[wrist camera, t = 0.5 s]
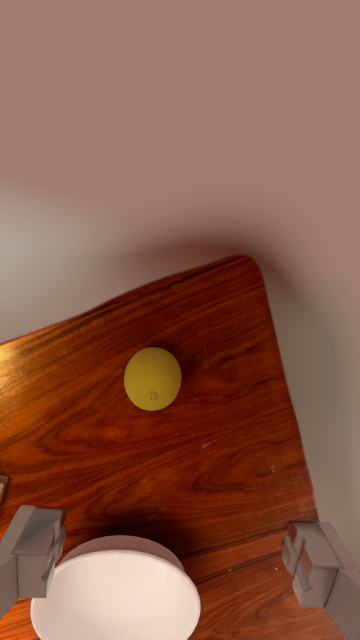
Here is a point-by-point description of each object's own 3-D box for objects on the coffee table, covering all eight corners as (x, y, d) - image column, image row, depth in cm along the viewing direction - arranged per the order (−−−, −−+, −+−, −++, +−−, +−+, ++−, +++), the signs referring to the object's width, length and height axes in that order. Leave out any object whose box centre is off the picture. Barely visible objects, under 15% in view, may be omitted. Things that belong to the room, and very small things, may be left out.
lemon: (154, 391, 33) (151, 438, 25) (119, 360, 32) (104, 399, 24) (189, 360, 32) (197, 398, 24) (154, 326, 31) (150, 355, 23)
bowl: (123, 474, 36) (115, 522, 30) (224, 555, 41) (234, 611, 35) (19, 558, 39) (-8, 618, 33) (124, 625, 44) (118, 688, 37)
